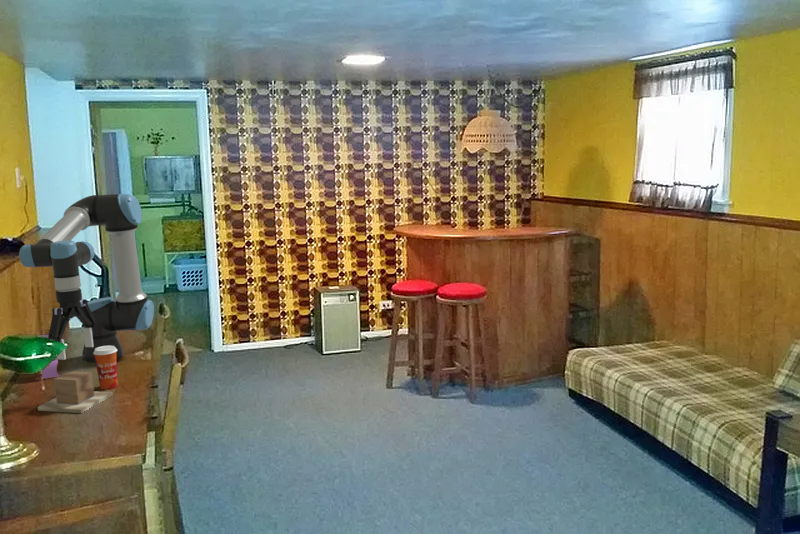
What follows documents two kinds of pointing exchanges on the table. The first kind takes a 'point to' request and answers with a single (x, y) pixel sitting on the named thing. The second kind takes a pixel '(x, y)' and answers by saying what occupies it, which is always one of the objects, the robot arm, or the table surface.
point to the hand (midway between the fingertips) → (75, 352)
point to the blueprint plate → (75, 408)
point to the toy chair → (50, 368)
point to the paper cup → (106, 366)
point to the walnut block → (74, 387)
